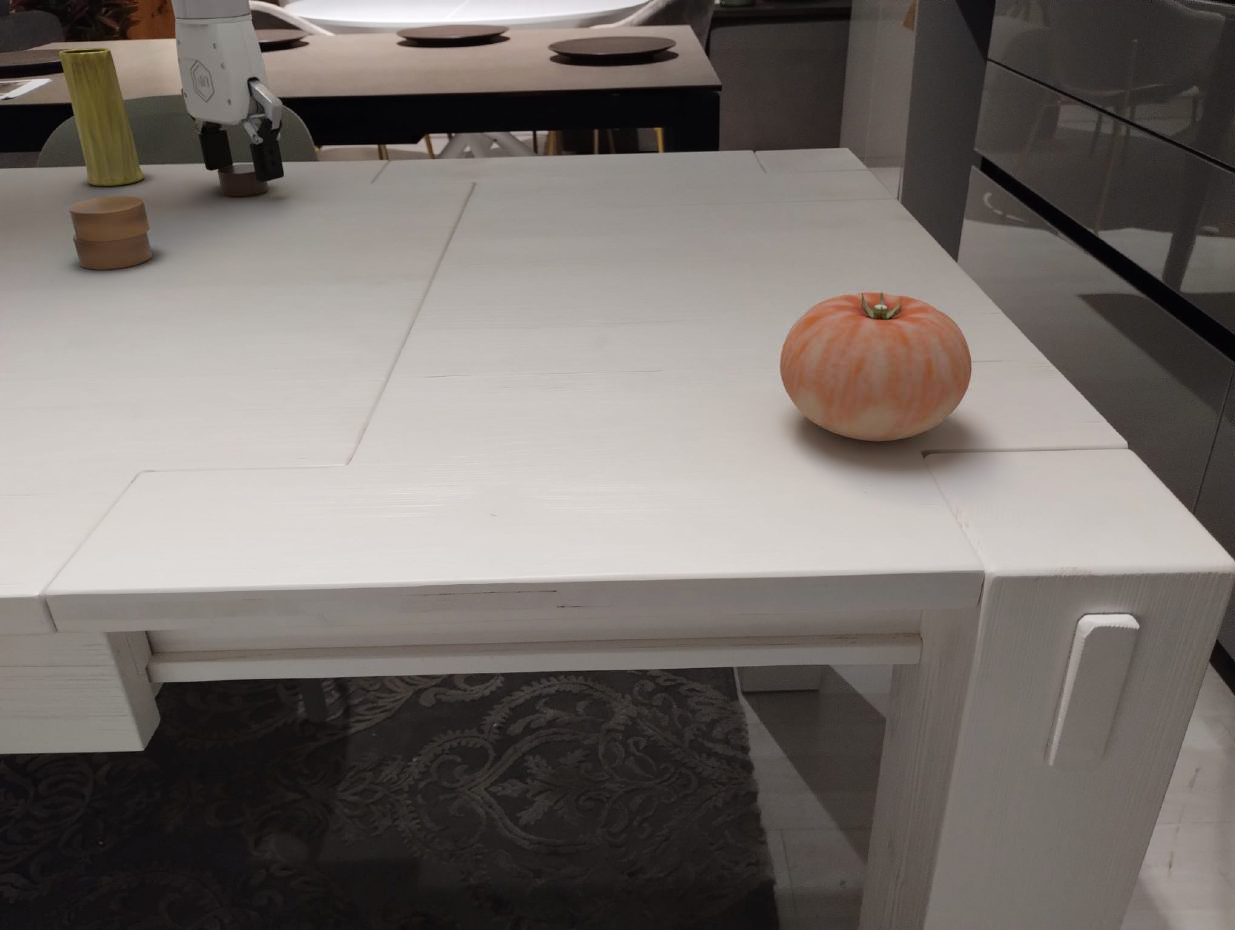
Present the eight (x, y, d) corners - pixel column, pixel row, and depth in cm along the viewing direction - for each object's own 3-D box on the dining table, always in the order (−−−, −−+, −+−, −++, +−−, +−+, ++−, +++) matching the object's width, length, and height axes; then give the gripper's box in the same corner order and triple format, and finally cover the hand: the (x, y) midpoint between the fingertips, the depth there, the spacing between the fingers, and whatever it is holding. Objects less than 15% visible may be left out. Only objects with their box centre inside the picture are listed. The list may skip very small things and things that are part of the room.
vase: (88, 189, 116) (53, 55, 109) (88, 178, 120) (55, 49, 114) (145, 183, 118) (114, 51, 111) (143, 172, 123) (114, 46, 116)
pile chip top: (64, 234, 90) (56, 206, 89) (128, 219, 94) (121, 192, 93) (97, 246, 87) (90, 217, 86) (162, 230, 91) (156, 202, 90)
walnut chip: (212, 192, 114) (208, 169, 112) (251, 183, 117) (247, 161, 116) (238, 198, 111) (234, 175, 110) (277, 189, 114) (273, 167, 113)
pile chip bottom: (67, 261, 91) (60, 234, 90) (131, 246, 95) (124, 219, 94) (101, 274, 88) (93, 246, 87) (165, 257, 92) (158, 230, 91)
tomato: (749, 398, 64) (755, 276, 60) (904, 379, 66) (920, 261, 63) (821, 480, 55) (834, 342, 51) (998, 454, 57) (1024, 320, 53)
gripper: (133, 6, 107) (172, 170, 115) (227, 12, 97) (261, 191, 106) (198, 0, 112) (230, 158, 120) (292, 6, 103) (320, 177, 111)
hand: (244, 173), depth 113 cm, fingers open, 9 cm apart
